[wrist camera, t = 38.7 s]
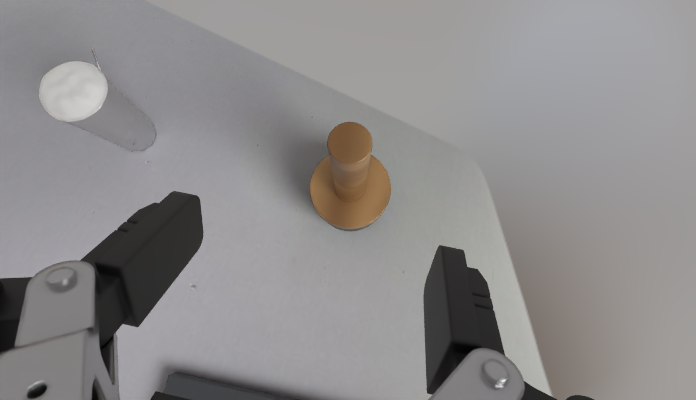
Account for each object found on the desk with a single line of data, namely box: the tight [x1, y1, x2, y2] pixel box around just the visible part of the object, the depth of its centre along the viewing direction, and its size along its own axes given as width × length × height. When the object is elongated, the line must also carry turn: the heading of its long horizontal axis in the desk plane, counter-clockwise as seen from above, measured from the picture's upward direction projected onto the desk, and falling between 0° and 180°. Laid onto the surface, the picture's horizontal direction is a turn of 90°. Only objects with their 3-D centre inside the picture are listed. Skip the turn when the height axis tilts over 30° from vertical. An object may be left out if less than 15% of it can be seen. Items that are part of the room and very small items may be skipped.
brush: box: [310, 122, 391, 231], centre depth 26 cm, size 6×6×13 cm
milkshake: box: [39, 47, 156, 151], centre depth 28 cm, size 4×5×10 cm
